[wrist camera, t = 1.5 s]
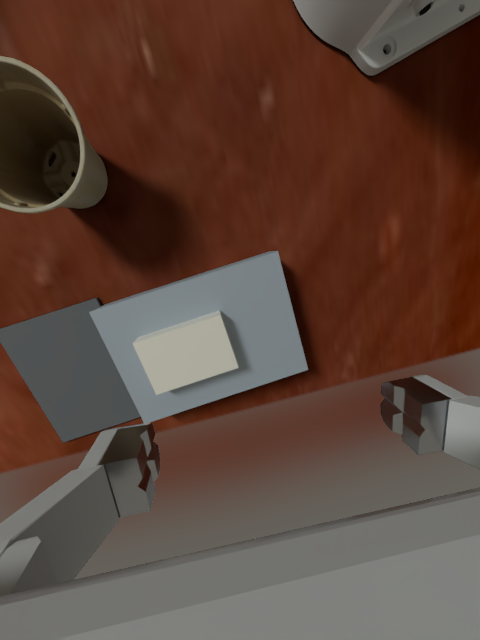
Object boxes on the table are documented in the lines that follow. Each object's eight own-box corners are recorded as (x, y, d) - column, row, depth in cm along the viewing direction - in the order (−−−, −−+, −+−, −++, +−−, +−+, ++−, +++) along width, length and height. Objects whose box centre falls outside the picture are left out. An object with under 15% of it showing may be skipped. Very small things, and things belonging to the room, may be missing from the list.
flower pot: (128, 135, 25) (85, 76, 17) (123, 232, 27) (83, 223, 19) (25, 110, 24) (-77, 34, 15) (28, 215, 26) (-60, 197, 18)
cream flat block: (220, 310, 26) (220, 314, 24) (237, 360, 28) (238, 367, 26) (138, 336, 26) (132, 343, 24) (160, 385, 28) (156, 395, 26)
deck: (269, 251, 29) (277, 251, 25) (297, 356, 33) (308, 369, 29) (105, 304, 29) (88, 312, 25) (152, 404, 33) (144, 423, 29)
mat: (97, 297, 29) (95, 298, 28) (152, 411, 33) (151, 413, 33) (-4, 330, 28) (-7, 331, 28) (64, 440, 33) (63, 442, 32)
